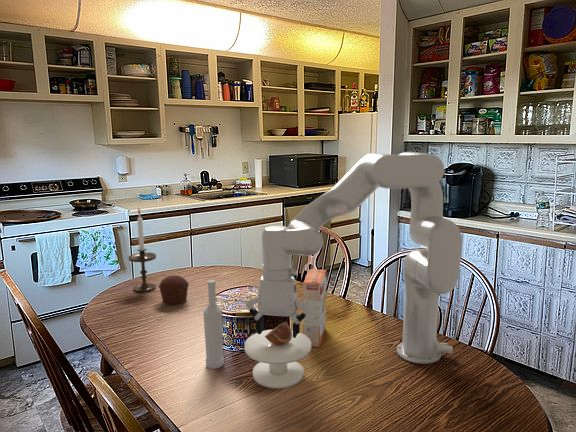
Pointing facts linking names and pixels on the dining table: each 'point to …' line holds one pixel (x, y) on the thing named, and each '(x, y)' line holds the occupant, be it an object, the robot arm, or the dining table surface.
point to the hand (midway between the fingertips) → (277, 334)
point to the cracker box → (315, 305)
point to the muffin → (174, 290)
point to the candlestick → (142, 260)
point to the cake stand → (277, 360)
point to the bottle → (213, 330)
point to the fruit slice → (280, 334)
